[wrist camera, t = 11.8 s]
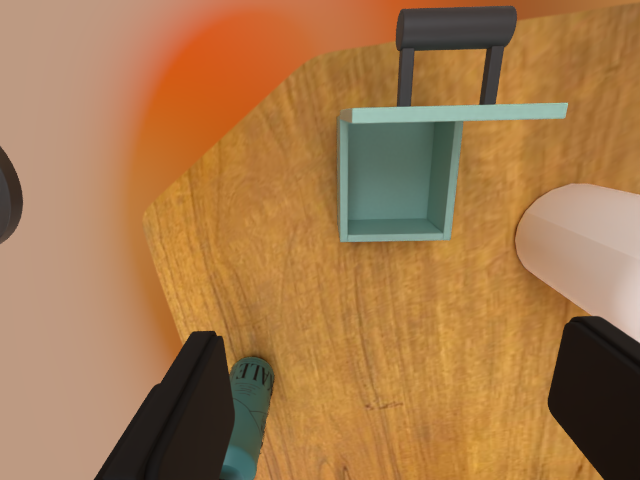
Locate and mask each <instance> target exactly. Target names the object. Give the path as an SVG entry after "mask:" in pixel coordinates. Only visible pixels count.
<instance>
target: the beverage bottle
mask: <svg viewBox="0 0 640 480" xmlns="http://www.w3.org/2000/svg"><path fill="white" fill-rule="evenodd" d="M229 373H230V374H229V378H230V384H231V390H232V397H233V403H234V409H235V423H234V428H233V431H232V435H231V438H230V442H229V445H228V449H227V452H226V456H225V459H224V463H223V467H222V470H221V474H220V477H219V480H253V479H254V478H255V475H256V471H257V463H258V458H259V454H261V453H260V449H261V446H262V445H263V442H262V438H263V437H264V436H263V434H265V432H264V429H265V424H266V418H267V416H268V415H267V414H268V412H269V411H268V407H270V406H269V403H270V399H271V395H272V394H271V393H273V390H272V388H273V383H275V380H274V376H275V375H274V372H273V369H272V367H271V366H270V365H269V364H268V363H267V362H266V361H265V360H263V359H260V358H257V357H246V358H243V359H241V360H239V361H238V362H237V363H236V364H235V365H234V366H233V367H232V369H231V372H229ZM263 441H264V438H263ZM261 444H262V445H261ZM261 450H262V449H261Z"/></svg>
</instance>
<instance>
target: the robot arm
mask: <svg viewBox="0 0 640 480" xmlns="http://www.w3.org/2000/svg"><path fill="white" fill-rule="evenodd" d="M548 407H549V410H550V412H551V414H552V415H553V417H554V418H555V419H556V421H557V422H558V423H559V424H560V425H561V427H562V428H563V429H564V430H565V432H566V433H567V434H568V435H569V437H570V438H571V439H572V440H573V442H574V443H575V444H576V445H577V447H578V448H579V449H580V450H581V452H582V453H583V454H584V455H585V457H586V458H587V459H588V460H589V462H590V463H591V464H592V465H593V466H594V468H595V469H596V470H597V471H598V473H599V474H600V475H601V476H602V478H603V479H604V480H640V343H639V342H638V341H636V340H635V339H633V338H632V337H630V336H629V335H627V334H626V333H624V332H623V331H621V330H620V329H619V328H617V327H616V326H614V325H613V324H611V323H610V322H608V321H607V320H605V319H604V318H602V317H600V316H581V317H573V318H572V319H571V320H570V322H569V323H567V324H566V325H565V327H564V330H563V335H562V339H561V344H560V348H559V352H558V357H557V361H556V366H555V370H554V375H553V379H552V383H551V388H550V392H549V397H548ZM234 423H235V409H234V403H233V397H232V390H231V384H230V378H229V372H228V366H227V360H226V353H225V347H224V341H223V338H222V336H217V335H216V333H215V331H196V332H192V333H191V334H190V336H189V338H188V339H187V341H186V342H185V344H184V346H183V347H182V349H181V351H180V352H179V354H178V356H177V357H176V359H175V360H174V362H173V364H172V365H171V367H170V368H169V370H168V372H167V373H166V375H165V377H164V378H163V380H162V381H161V383H160V384H157V385H155V386H154V387H153V388H152V389H151V391H150V392H149V394H148V395H147V397H146V398H145V400H144V402H143V403H142V405H141V406H140V408H139V409H138V411H137V413H136V414H135V416H134V417H133V419H132V420H131V422H130V424H129V425H128V427H127V428H126V430H125V431H124V433H123V435H122V436H121V438H120V439H119V441H118V443H117V444H116V446H115V447H114V449H113V450H112V452H111V453H110V455H109V457H108V458H107V460H106V461H105V463H104V464H103V466H102V468H101V469H100V471H99V472H98V474H97V476H96V477H95V479H94V480H219V477H220V474H221V470H222V467H223V463H224V459H225V456H226V452H227V449H228V445H229V442H230V438H231V435H232V431H233V428H234Z"/></svg>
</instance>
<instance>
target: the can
mask: <svg viewBox="0 0 640 480" xmlns="http://www.w3.org/2000/svg"><path fill="white" fill-rule="evenodd" d="M515 243H516V250H517V255H518V257H519V259H520V261H521V262H522V264H523V266H524V267H525V268H526V269H527V270H528V271H530V272H531V273H532V274H534V275H535V276H536V277H538V278H539V279H541V280H542V281H543V282H545V283H546V284H548V285H549V286H551V287H552V288H553V289H555V290H556V291H558V292H559V293H560V294H562V295H563V296H565V297H566V298H568V299H569V300H570V301H572V302H573V303H575V304H576V305H578V306H579V307H580V308H582V309H583V310H585V311H586V312H587V313H589V314H590V315H592V316H600V317H602V318H604V319H605V320H607V321H608V322H610V323H611V324H613V325H614V326H616V327H617V328H619V329H620V330H621V331H623V332H624V333H626V334H627V335H629V336H630V337H632V338H633V339H635V340H636V341H638V342H639V343H640V195H638V194H634V193H629V192H625V191H620V190H616V189H611V188H606V187H602V186H597V185H593V184H569V185H566V186H563V187H559V188H556V189H553V190H551V191H549V192H548V193H546V194H544V195H543V196H541V197H540V198H538V199H537V200H536V201H535V202H534V203H533V204H532V205H531V206H530V207H529V208H528V209H527V210H526V211H525V213H524V215H523V217H522V219H521V220H520V222H519V224H518V227H517V232H516V237H515Z"/></svg>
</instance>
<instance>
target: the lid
mask: <svg viewBox="0 0 640 480" xmlns="http://www.w3.org/2000/svg"><path fill="white" fill-rule="evenodd" d="M516 21H517V13H516V9H515V8H514V7H513V6H489V7H454V8H420V9H402V10H401V11H400V14H399V16H398V22H397V29H396V47H397V50H398V51H400V57H399V76H398V94H397V107H373V108H350V109H344V110H340V119H341V120H344V121H347V122H350V123H353V124H358V123H400V122H442V121H483V120H525V119H564V118H565V116H566V111H567V107H568V103H536V104H495V103H496V97H497V90H498V84H499V77H500V71H501V64H502V57H503V51H504V47H506V46H507V45H508V43H509V42H510V40H511V38H512V36H513V34H514V31H515V27H516ZM460 49H487V51H486V59H485V66H484V73H483V81H482V88H481V95H480V103H479V105H455V106H414V107H411V95H412V80H413V66H414V51H423V50H460Z"/></svg>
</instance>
